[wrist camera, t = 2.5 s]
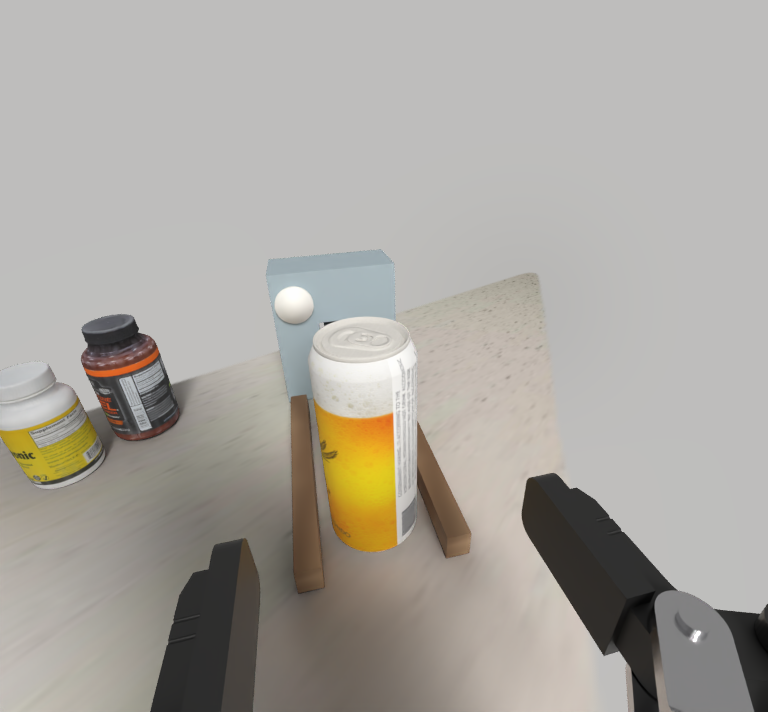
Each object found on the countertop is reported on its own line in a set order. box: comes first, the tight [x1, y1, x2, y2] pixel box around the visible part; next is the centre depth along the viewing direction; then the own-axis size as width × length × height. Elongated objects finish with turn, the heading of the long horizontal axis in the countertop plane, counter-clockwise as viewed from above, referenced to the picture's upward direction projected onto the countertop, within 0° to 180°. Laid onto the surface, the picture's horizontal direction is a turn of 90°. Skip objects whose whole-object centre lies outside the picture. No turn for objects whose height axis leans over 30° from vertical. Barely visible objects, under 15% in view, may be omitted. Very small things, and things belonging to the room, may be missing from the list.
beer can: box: [308, 317, 417, 553], centre depth 25 cm, size 6×6×15 cm
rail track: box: [291, 394, 471, 594], centre depth 33 cm, size 11×19×2 cm, turn 13°
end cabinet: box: [266, 250, 396, 402], centre depth 42 cm, size 12×6×14 cm, turn 103°
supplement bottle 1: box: [0, 361, 105, 489], centre depth 32 cm, size 5×5×10 cm
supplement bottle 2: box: [81, 314, 179, 440], centre depth 37 cm, size 6×6×11 cm
